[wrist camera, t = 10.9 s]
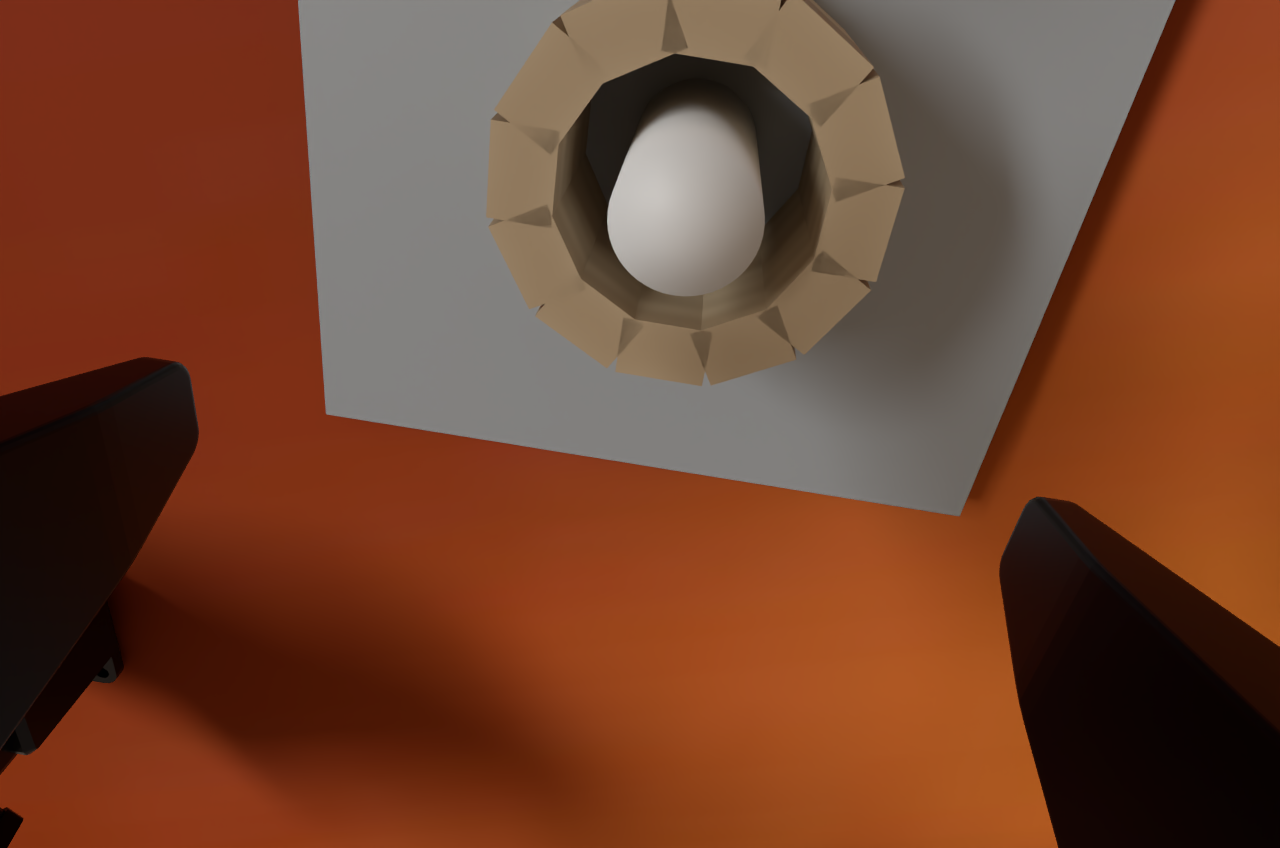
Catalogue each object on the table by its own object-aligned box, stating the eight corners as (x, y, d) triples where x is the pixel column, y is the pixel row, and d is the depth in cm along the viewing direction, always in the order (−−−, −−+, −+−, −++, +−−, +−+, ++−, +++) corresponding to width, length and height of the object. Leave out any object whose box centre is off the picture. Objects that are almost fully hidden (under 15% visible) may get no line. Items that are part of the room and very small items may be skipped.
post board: (341, 394, 23) (228, 541, 18) (293, -450, 14) (50, -635, 9) (951, 492, 23) (1014, 668, 18) (1269, -294, 14) (1571, -395, 9)
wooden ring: (523, 267, 19) (479, 349, 16) (548, -72, 16) (499, -60, 12) (818, 316, 19) (837, 408, 16) (908, -13, 16) (957, 16, 12)
